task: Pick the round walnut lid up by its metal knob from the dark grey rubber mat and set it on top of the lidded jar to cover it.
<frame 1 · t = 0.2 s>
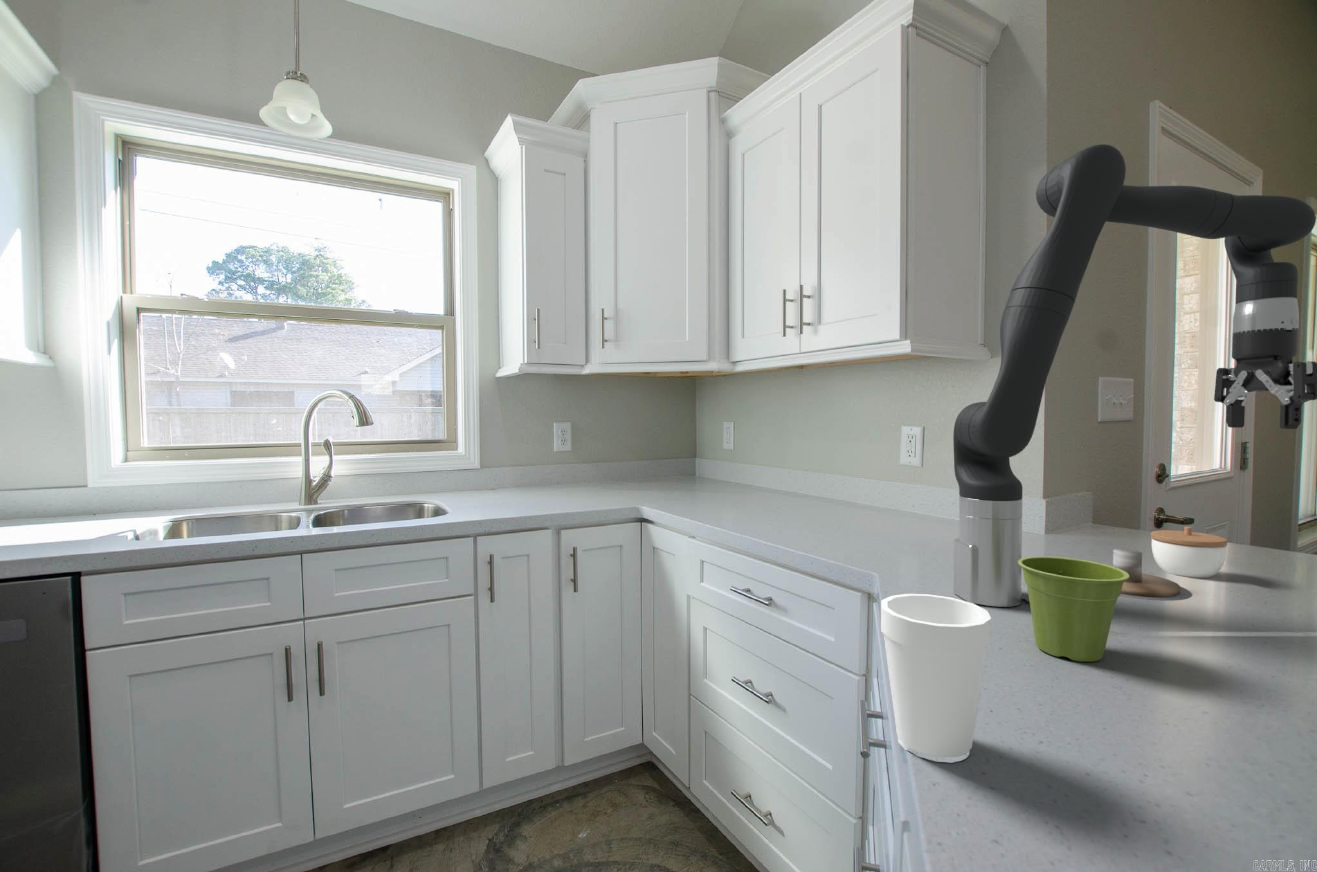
hand: (1261, 428, 96), 28 cm above the countertop, fingers open, 8 cm apart
lidded jar: (1186, 577, 111), on the countertop
rubber mat: (1126, 588, 103), on the countertop
walnut lid: (1126, 585, 103), point 1 cm above the countertop, touching rubber mat
foam cup: (932, 745, 56), on the countertop
plant pot: (1069, 653, 77), on the countertop
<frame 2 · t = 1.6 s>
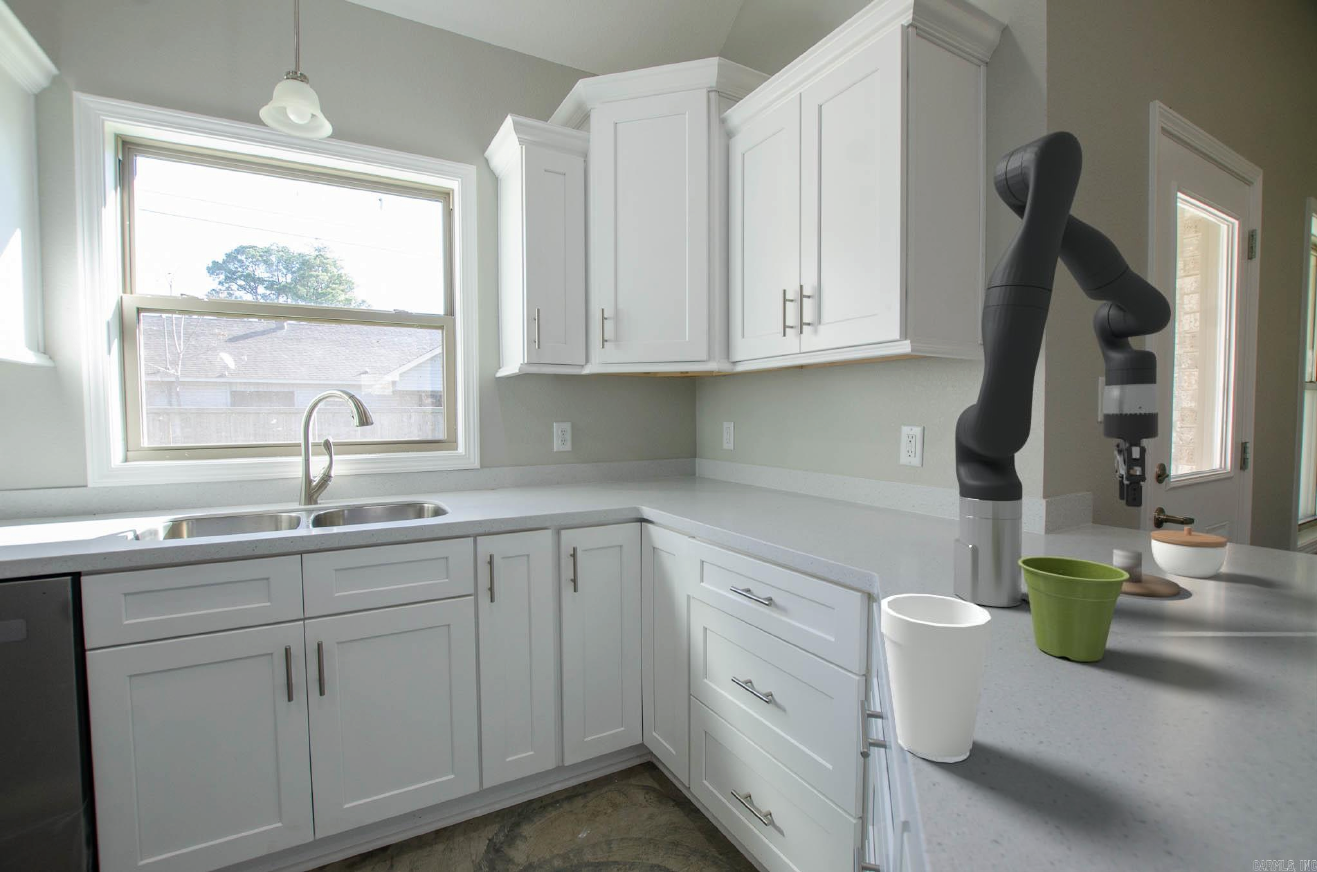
hand: (1129, 503, 103), 15 cm above the countertop, fingers open, 8 cm apart
nothing on the countertop moved.
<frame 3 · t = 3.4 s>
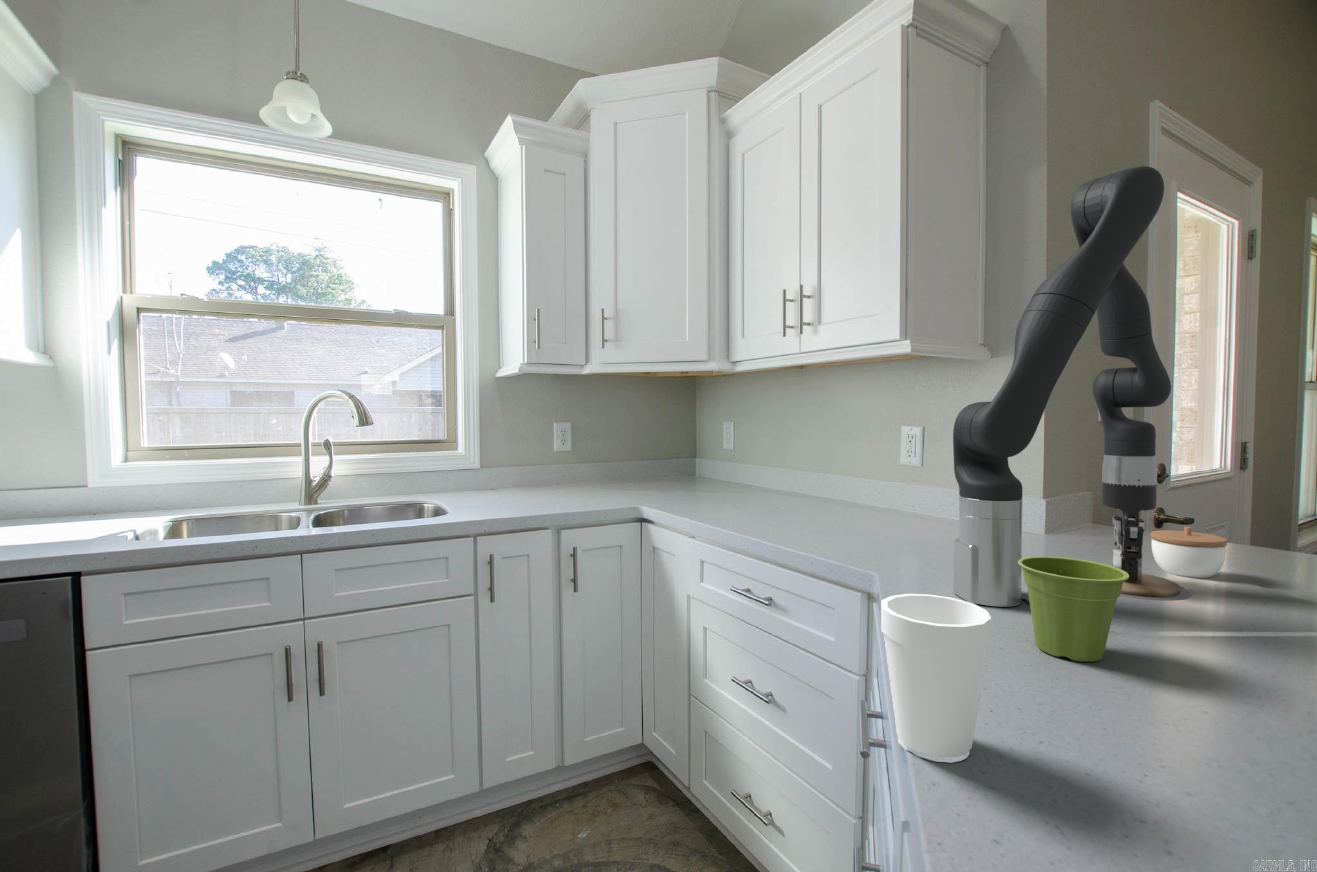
hand: (1127, 577, 103), 2 cm above the countertop, fingers closed on walnut lid, 4 cm apart
walnut lid: (1126, 585, 103), point 1 cm above the countertop, touching gripper, rubber mat
everything else where it was.
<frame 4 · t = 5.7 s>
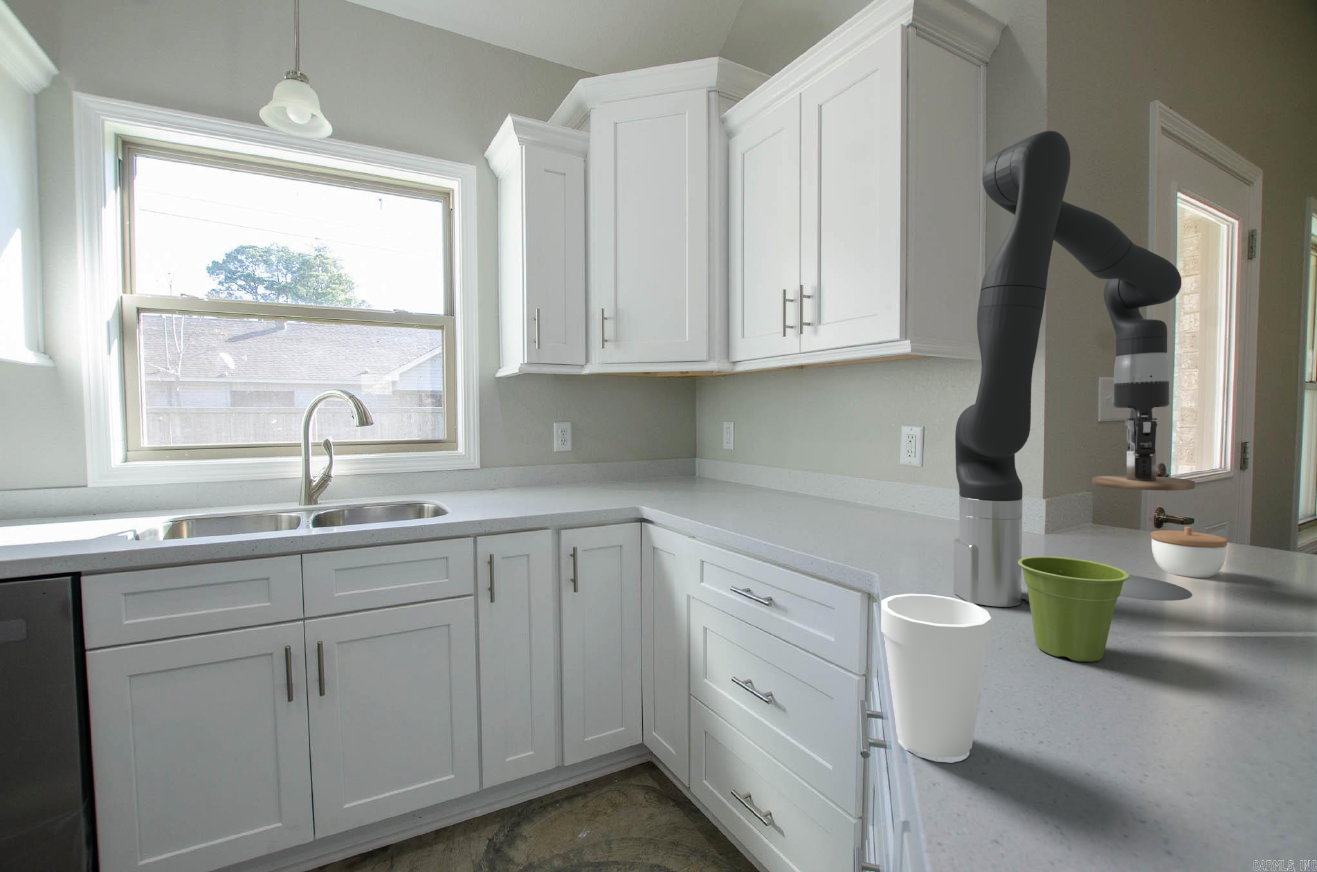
hand: (1140, 477, 104), 20 cm above the countertop, fingers closed on walnut lid, 4 cm apart
walnut lid: (1141, 485, 104), point 18 cm above the countertop, touching gripper
everything else where it was.
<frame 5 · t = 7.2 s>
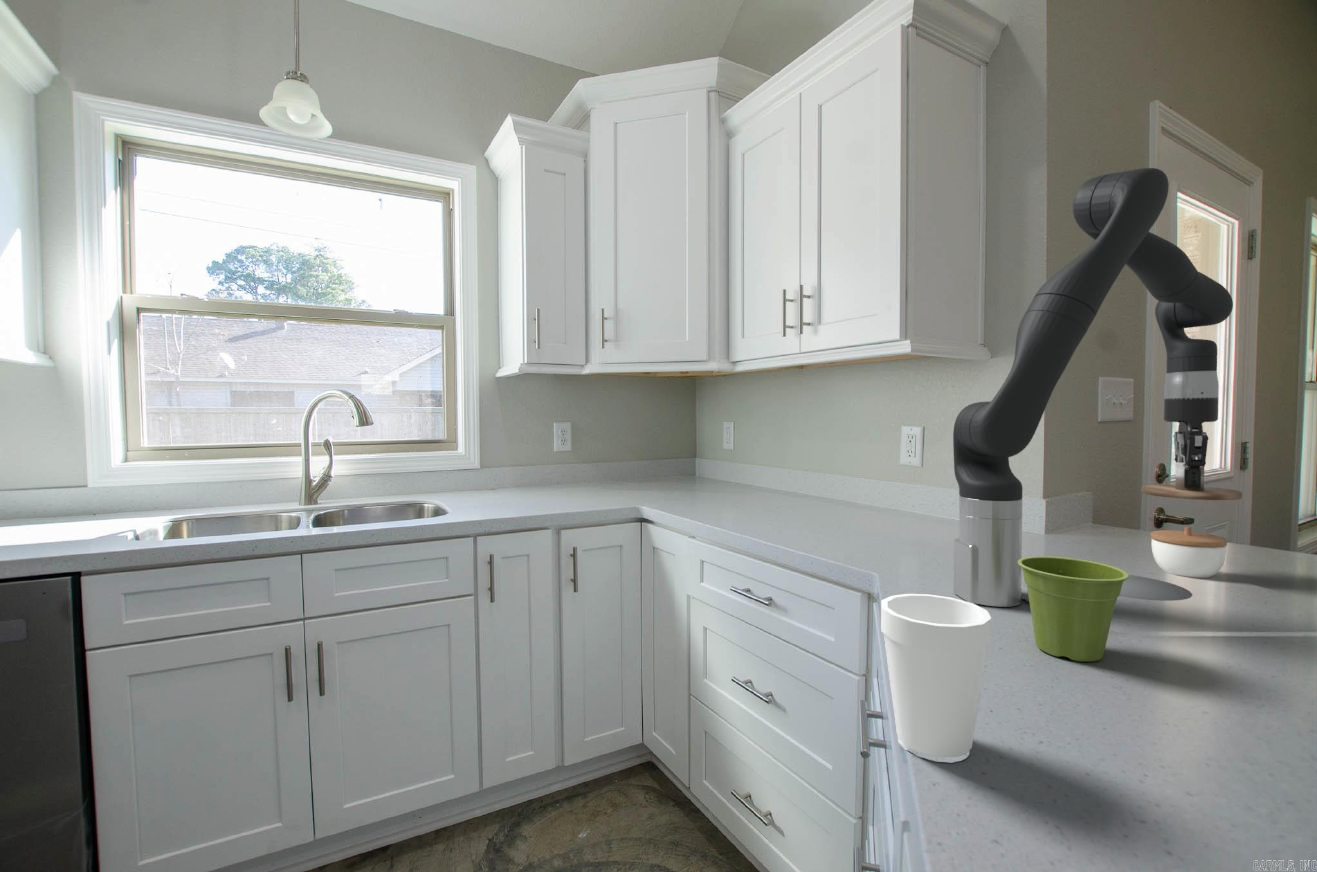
hand: (1189, 487, 110), 17 cm above the countertop, fingers closed on walnut lid, 4 cm apart
walnut lid: (1189, 494, 110), point 16 cm above the countertop, touching gripper
everything else where it was.
when the fingers open (12 cm above the countertop, at t = 8.3 s): walnut lid drops 2 cm, resting on lidded jar.
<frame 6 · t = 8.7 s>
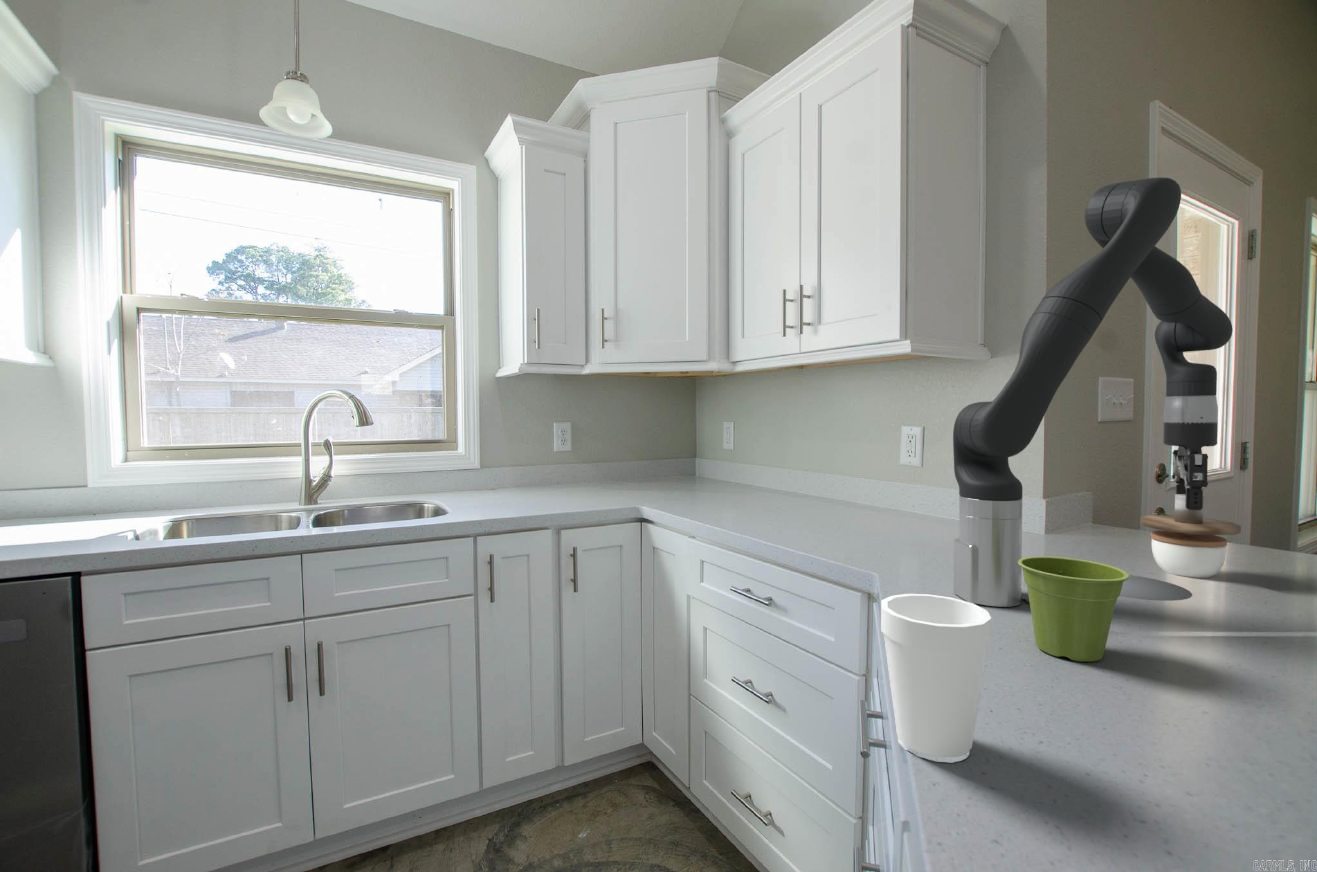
hand: (1188, 506, 110), 13 cm above the countertop, fingers open, 8 cm apart
lidded jar: (1186, 577, 111), on the countertop, touching walnut lid
walnut lid: (1188, 527, 110), point 9 cm above the countertop, touching lidded jar
everything else where it was.
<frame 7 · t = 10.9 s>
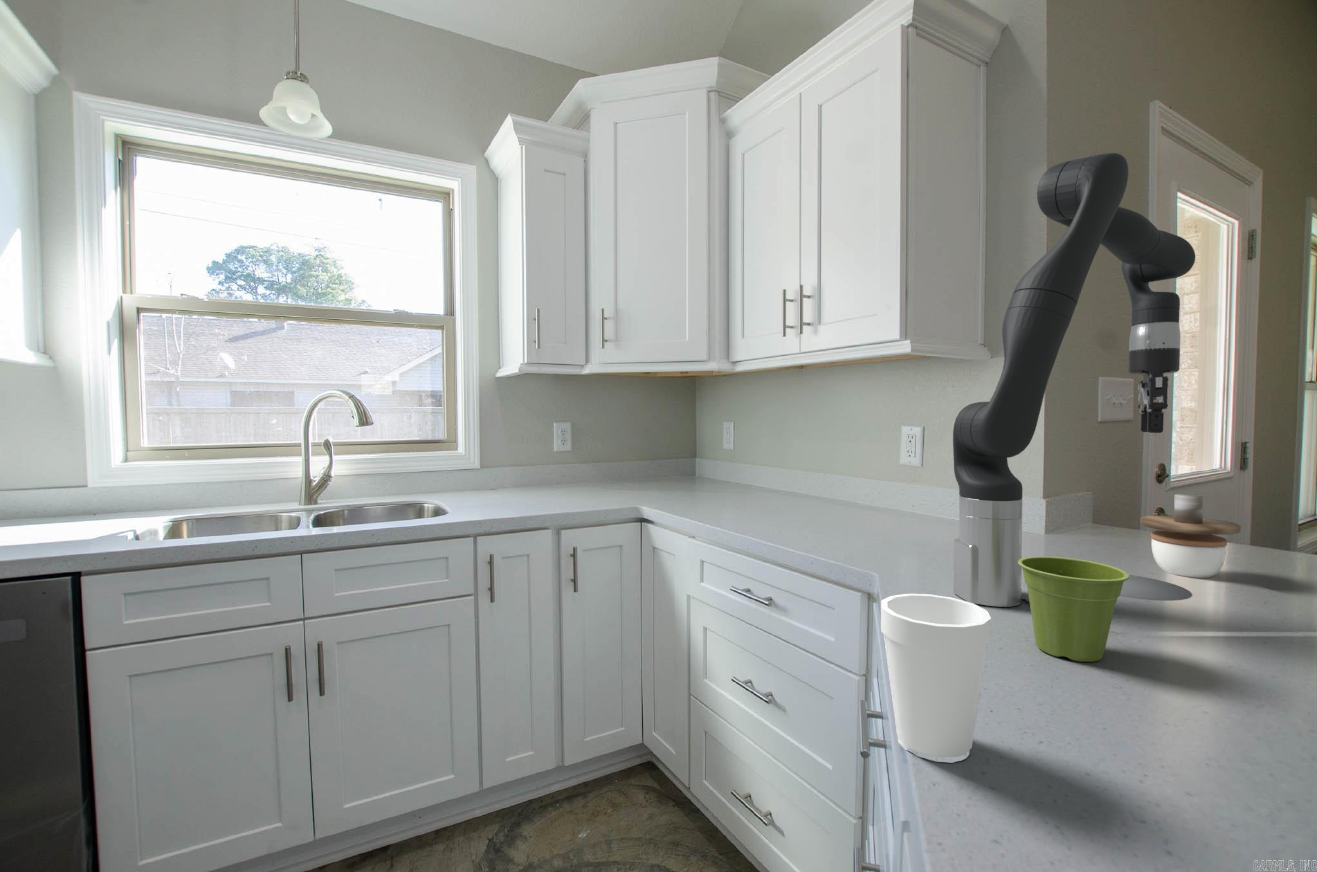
hand: (1151, 432, 113), 27 cm above the countertop, fingers open, 8 cm apart
nothing on the countertop moved.
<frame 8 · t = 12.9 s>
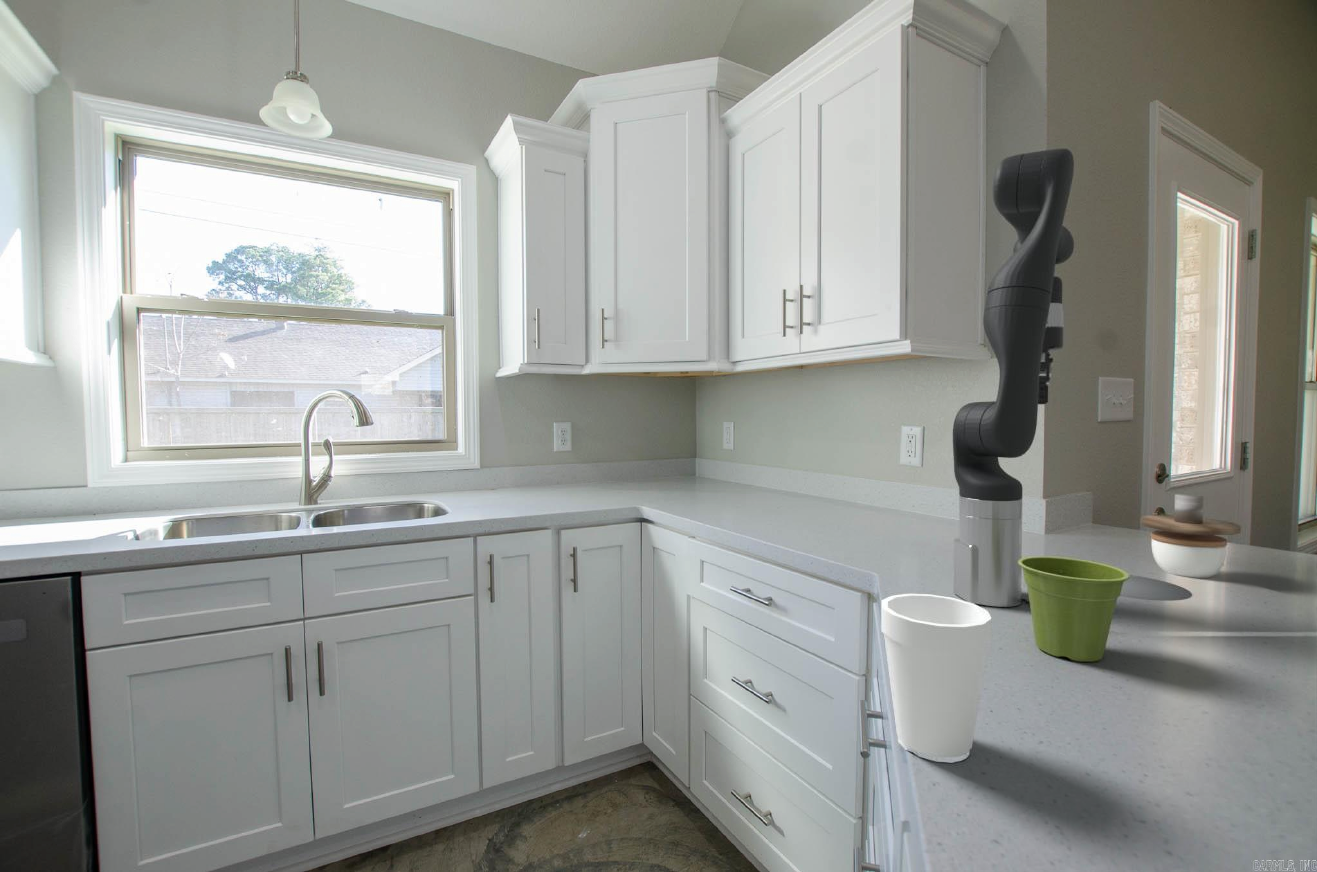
hand: (1041, 404, 124), 33 cm above the countertop, fingers open, 8 cm apart
nothing on the countertop moved.
at the end: walnut lid 0.1 cm from the lidded jar (horizontally); walnut lid point 9.4 cm above the countertop; the gripper is holding nothing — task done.
